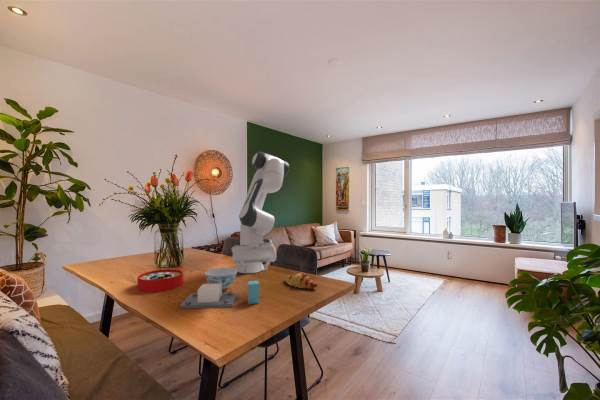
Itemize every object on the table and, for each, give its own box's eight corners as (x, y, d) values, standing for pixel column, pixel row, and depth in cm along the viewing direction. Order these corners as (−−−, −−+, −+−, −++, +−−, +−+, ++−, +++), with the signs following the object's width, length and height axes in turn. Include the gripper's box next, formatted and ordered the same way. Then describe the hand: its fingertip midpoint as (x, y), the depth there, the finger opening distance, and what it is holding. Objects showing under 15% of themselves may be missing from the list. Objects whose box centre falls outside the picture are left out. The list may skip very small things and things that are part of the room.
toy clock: (191, 270, 140) (162, 281, 121) (191, 281, 140) (162, 294, 121) (159, 267, 145) (127, 278, 126) (159, 278, 145) (127, 290, 126)
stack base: (190, 296, 118) (190, 282, 118) (236, 295, 120) (236, 281, 120) (179, 308, 105) (179, 292, 105) (232, 306, 107) (232, 291, 107)
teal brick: (247, 300, 114) (247, 281, 114) (258, 299, 115) (258, 280, 115) (248, 304, 110) (248, 284, 110) (259, 303, 111) (259, 283, 111)
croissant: (281, 289, 139) (276, 277, 136) (293, 276, 146) (288, 264, 143) (313, 298, 125) (308, 284, 122) (324, 283, 132) (319, 270, 129)
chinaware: (242, 287, 131) (242, 271, 131) (213, 294, 120) (214, 277, 120) (227, 280, 141) (227, 266, 141) (199, 287, 131) (199, 271, 131)
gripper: (231, 241, 125) (231, 267, 116) (274, 239, 130) (278, 264, 121) (231, 249, 130) (231, 275, 120) (273, 247, 135) (276, 271, 125)
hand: (255, 269), depth 121 cm, fingers open, 8 cm apart
